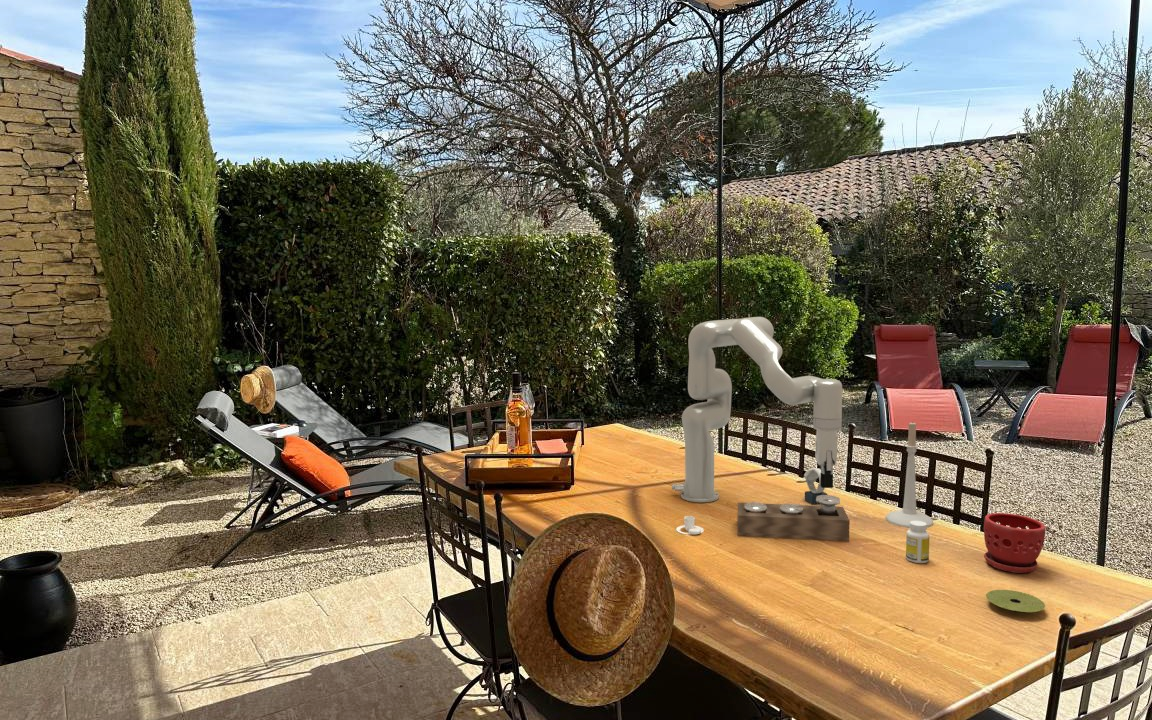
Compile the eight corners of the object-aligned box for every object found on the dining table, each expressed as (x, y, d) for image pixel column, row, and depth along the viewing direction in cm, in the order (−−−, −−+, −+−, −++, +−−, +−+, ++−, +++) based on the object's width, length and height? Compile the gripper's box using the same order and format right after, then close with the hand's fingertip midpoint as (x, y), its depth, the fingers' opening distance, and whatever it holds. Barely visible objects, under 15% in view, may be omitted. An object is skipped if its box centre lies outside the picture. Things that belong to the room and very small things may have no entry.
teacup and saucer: (703, 537, 212) (703, 524, 211) (675, 536, 213) (674, 522, 213) (704, 527, 220) (704, 514, 220) (677, 526, 222) (676, 512, 221)
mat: (1021, 624, 156) (1021, 615, 156) (974, 603, 167) (974, 594, 166) (1056, 613, 161) (1057, 605, 161) (1008, 593, 171) (1008, 585, 171)
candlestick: (876, 517, 224) (879, 420, 221) (907, 511, 229) (911, 415, 226) (910, 530, 213) (914, 428, 209) (943, 524, 218) (946, 423, 214)
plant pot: (1022, 581, 178) (1024, 532, 176) (970, 562, 189) (973, 517, 188) (1054, 570, 184) (1057, 523, 182) (1003, 552, 195) (1005, 508, 194)
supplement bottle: (927, 557, 193) (928, 520, 192) (929, 564, 188) (931, 527, 187) (904, 554, 195) (906, 518, 194) (906, 562, 190) (907, 525, 189)
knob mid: (780, 528, 212) (780, 510, 211) (778, 521, 218) (779, 503, 217) (803, 529, 210) (804, 511, 210) (801, 522, 216) (801, 504, 216)
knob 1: (744, 527, 214) (744, 508, 213) (743, 519, 220) (743, 502, 219) (767, 528, 212) (767, 509, 212) (766, 520, 218) (766, 502, 218)
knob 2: (817, 519, 209) (817, 501, 209) (814, 512, 215) (814, 494, 215) (841, 520, 208) (841, 502, 207) (837, 513, 214) (838, 495, 213)
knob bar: (738, 535, 211) (738, 515, 211) (737, 521, 223) (737, 502, 222) (849, 541, 205) (849, 520, 205) (842, 526, 217) (842, 506, 216)
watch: (816, 497, 245) (817, 465, 244) (830, 504, 237) (831, 471, 236) (801, 499, 244) (801, 466, 242) (814, 506, 236) (815, 472, 235)
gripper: (810, 418, 217) (810, 479, 219) (816, 428, 202) (815, 494, 204) (837, 418, 215) (836, 480, 217) (845, 429, 200) (844, 495, 203)
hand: (826, 486), depth 211 cm, fingers closed
